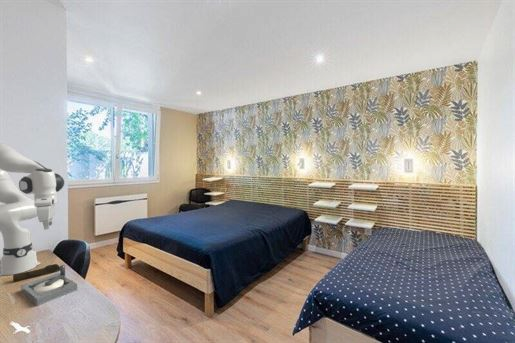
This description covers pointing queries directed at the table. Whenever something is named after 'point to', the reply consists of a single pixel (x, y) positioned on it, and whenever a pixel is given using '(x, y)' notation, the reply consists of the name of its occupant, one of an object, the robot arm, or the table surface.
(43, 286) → the crank
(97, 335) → the table surface
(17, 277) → the hand tool
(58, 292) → the panel
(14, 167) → the robot arm
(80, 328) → the table surface
